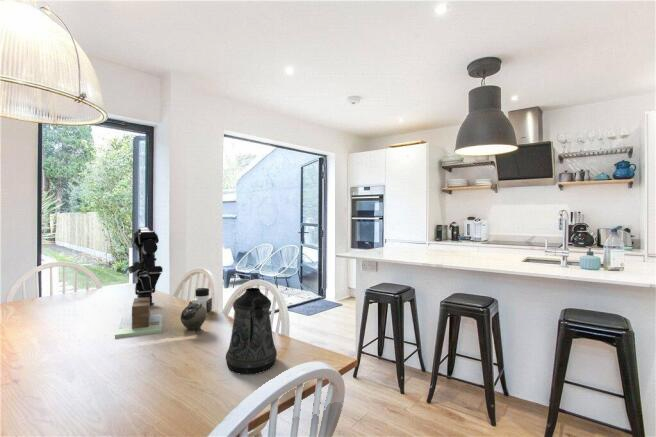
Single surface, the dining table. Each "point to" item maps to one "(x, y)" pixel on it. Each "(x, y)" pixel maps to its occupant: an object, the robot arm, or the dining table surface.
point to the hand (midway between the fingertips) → (148, 290)
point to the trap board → (139, 331)
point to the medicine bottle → (203, 298)
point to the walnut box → (140, 312)
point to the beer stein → (251, 335)
